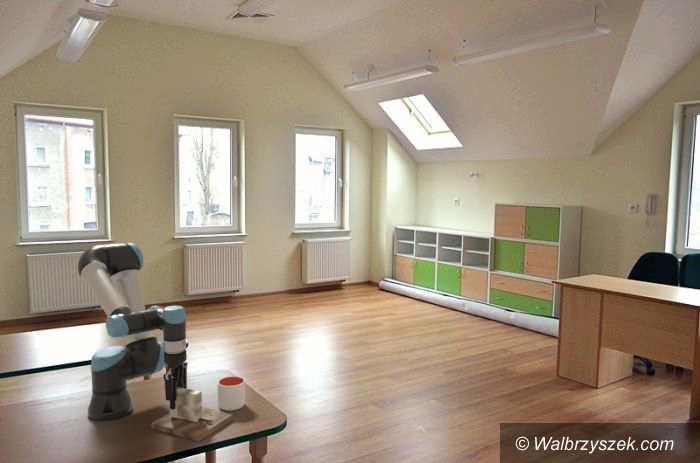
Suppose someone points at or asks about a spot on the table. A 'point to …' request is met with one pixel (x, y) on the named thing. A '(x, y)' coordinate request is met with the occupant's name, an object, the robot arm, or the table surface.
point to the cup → (231, 393)
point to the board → (193, 424)
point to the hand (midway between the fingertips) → (177, 413)
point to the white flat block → (190, 405)
